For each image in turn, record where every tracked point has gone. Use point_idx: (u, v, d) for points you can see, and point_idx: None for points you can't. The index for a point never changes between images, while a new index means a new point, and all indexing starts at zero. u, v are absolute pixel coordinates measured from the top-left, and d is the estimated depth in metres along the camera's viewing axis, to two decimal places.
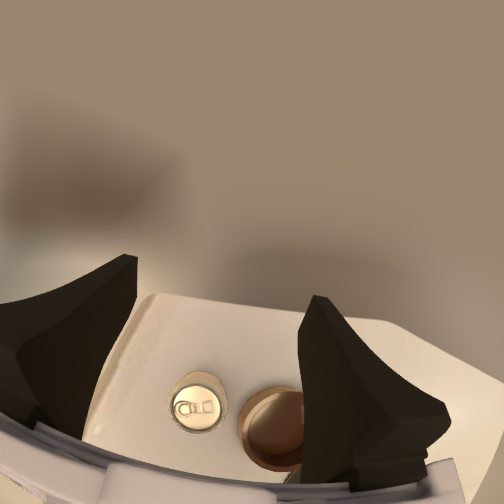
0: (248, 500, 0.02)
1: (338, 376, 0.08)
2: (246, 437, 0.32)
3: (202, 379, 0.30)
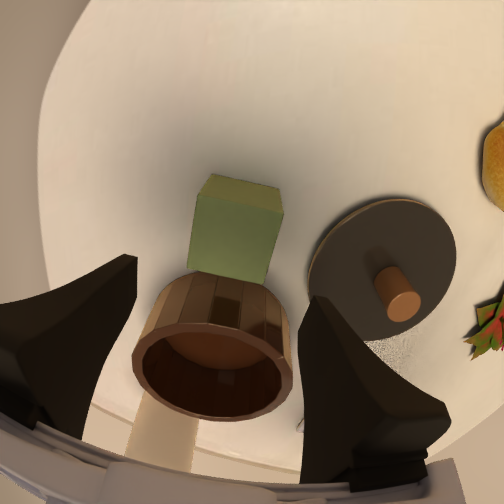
0: (248, 500, 0.02)
1: (338, 376, 0.08)
2: (213, 418, 0.22)
3: None
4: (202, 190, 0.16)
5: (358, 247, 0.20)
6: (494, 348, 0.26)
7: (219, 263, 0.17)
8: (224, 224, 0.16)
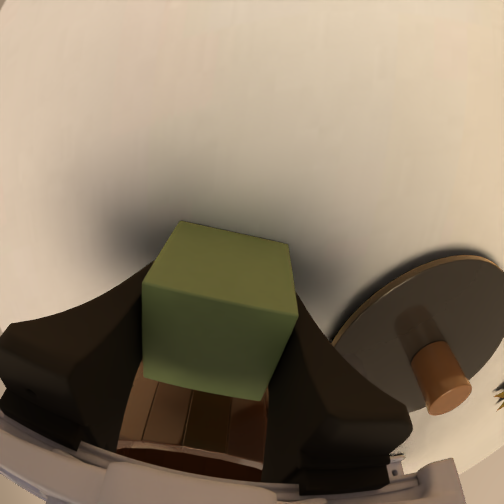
0: (248, 500, 0.02)
1: (294, 371, 0.08)
2: None
3: None
4: (153, 268, 0.09)
5: (399, 324, 0.13)
6: None
7: (191, 376, 0.10)
8: (193, 330, 0.09)
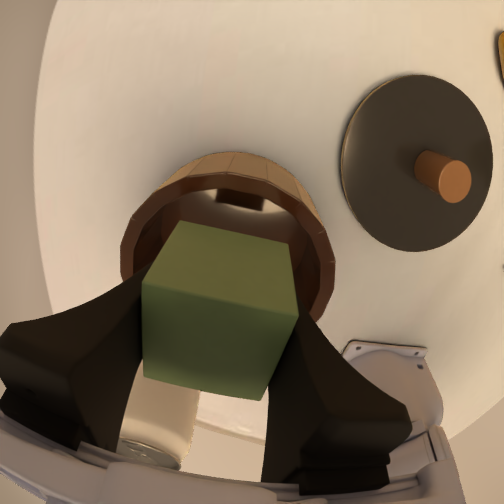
0: (248, 500, 0.02)
1: (294, 371, 0.08)
2: None
3: None
4: (153, 268, 0.09)
5: (394, 120, 0.16)
6: None
7: (192, 376, 0.10)
8: (194, 330, 0.09)
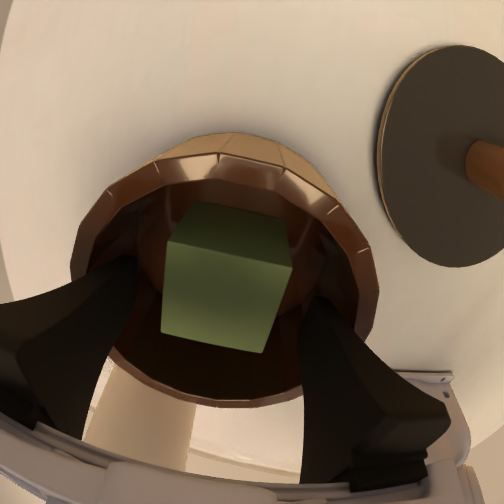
0: (248, 500, 0.02)
1: (338, 376, 0.08)
2: (219, 401, 0.13)
3: None
4: (175, 232, 0.11)
5: (444, 99, 0.10)
6: None
7: (203, 328, 0.12)
8: (207, 282, 0.11)
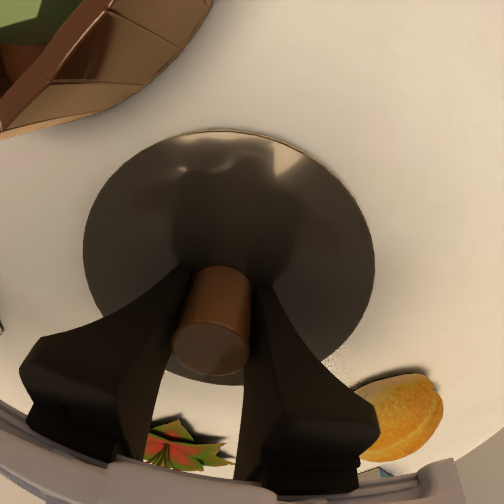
0: (248, 500, 0.02)
1: (262, 367, 0.08)
2: None
3: None
4: None
5: (295, 223, 0.11)
6: None
7: None
8: None
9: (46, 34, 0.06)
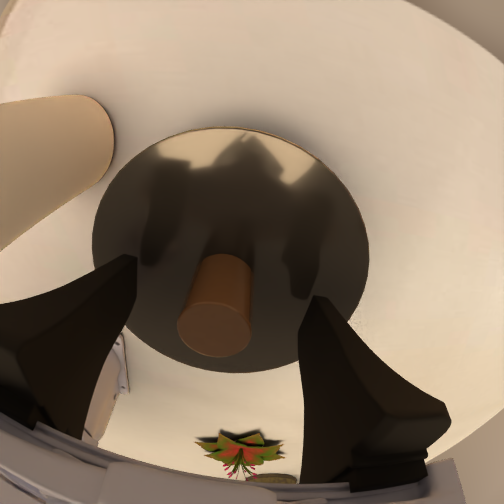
0: (248, 500, 0.02)
1: (338, 376, 0.08)
2: None
3: None
4: None
5: (293, 213, 0.11)
6: (209, 454, 0.33)
7: None
8: None
9: None
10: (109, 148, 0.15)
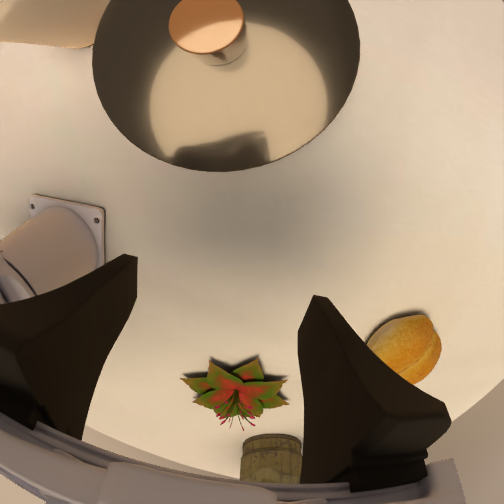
0: (248, 500, 0.02)
1: (338, 376, 0.08)
2: None
3: None
4: None
5: None
6: (198, 398, 0.30)
7: None
8: None
9: None
10: None
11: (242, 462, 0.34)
